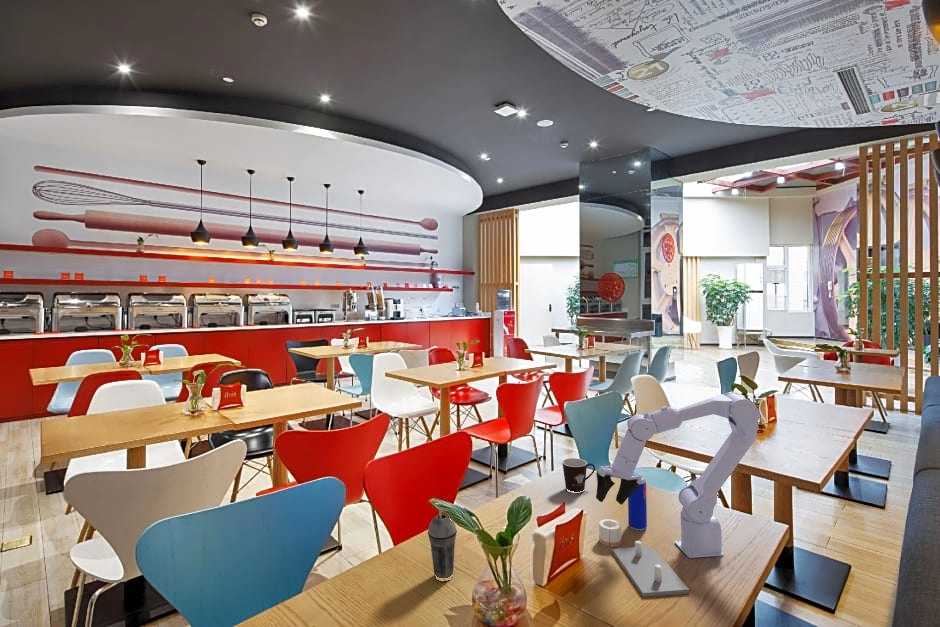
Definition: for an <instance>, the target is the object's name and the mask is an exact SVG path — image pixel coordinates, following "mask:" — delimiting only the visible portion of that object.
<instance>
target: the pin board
mask: <svg viewBox="0 0 940 627" xmlns="http://www.w3.org/2000/svg"><path fill="white" fill-rule="evenodd" d="M611 552H612V554H613V555H614V557H615V558H616V560H617V561H618V563H619V565H621V567H622V569H623V570H624V572H625V573H626V574H627V577H629V579H630V580H631V582H632V583H633V584H634V585H633V586H635V588H636V589H637V591H638V592H639V593H640V595H641V596H642V598H647V597H648V598H651V597H652V598H653V597H660V596H661V597H662V596H663V597H664V596H674V595H686V594H687V595H688V594H690V588H689V587H688V586H687V585H686V584H685V583H684V581H683V580H682V579H681V578H680V577H679V576H678V575H677V573H676V572H675V570H673V569H672V568H671V566H670V565H669V564H668V563H667V562H666V561H665V559H663V557H662V556H661V555H660V554H659V552H658V551H657V550H656V549H655V548H654V547H653V546H652V545H648V546H642V542H641V541H640V540H635V541H634V546H633V547H622V548H621V547H620V548H617V547H616V548H612V549H611Z"/></svg>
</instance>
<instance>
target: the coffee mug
mask: <svg viewBox="0 0 940 627" xmlns="http://www.w3.org/2000/svg"><path fill="white" fill-rule="evenodd" d="M561 463H562V470H563V476H564V483H565V484H564V485H565V489H566V488H567V489H568V490H570V491H574V492H580V491H583V490H584V489H585V488H586V481H587V480H588V479H589V478H591V477H592V475H593V474H594V473H595V471H596V466H595V465H594V464H593V463H588V461H586V459H585V460H584V459H581V458H577V457H576V458H575V457H573V458H572V457H571V458H565V459H563V460H562V462H561ZM589 466H592V471H591V473H589V475H587V468H588V467H589ZM584 491H585V490H584Z"/></svg>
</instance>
